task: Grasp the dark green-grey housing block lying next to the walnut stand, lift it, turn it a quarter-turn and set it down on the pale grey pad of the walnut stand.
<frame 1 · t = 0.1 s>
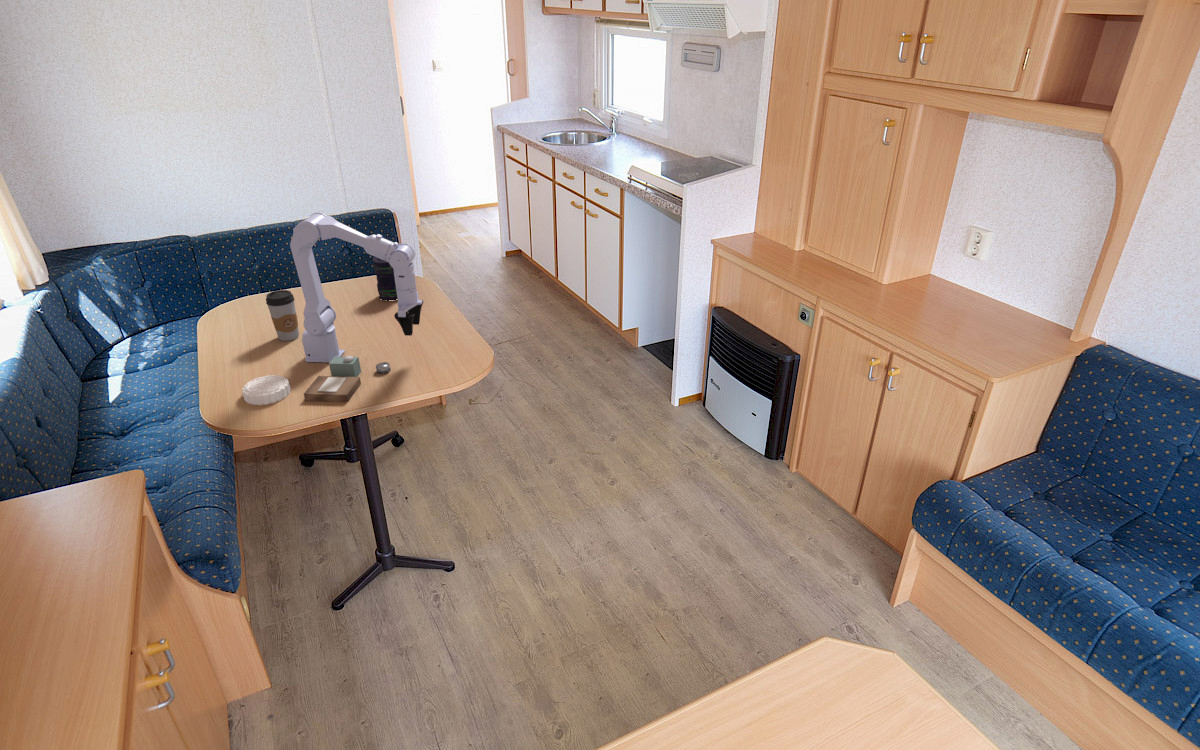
hand: (412, 329, 205), 10 cm above the table, fingers open, 7 cm apart
stand: (333, 391, 192), on the table
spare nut: (383, 371, 204), on the table
storage jar: (392, 296, 254), on the table
mooncake: (268, 395, 192), on the table
housing: (346, 375, 201), on the table
coffee cup: (289, 337, 223), on the table
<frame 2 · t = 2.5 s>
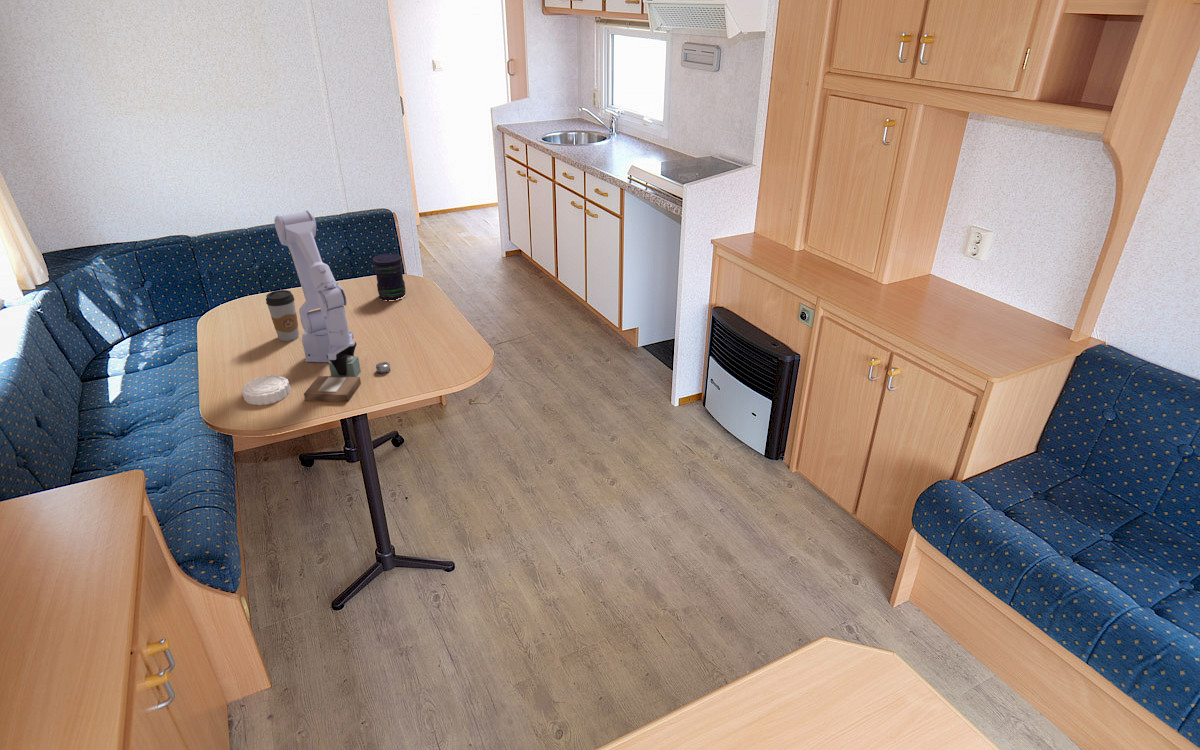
hand: (346, 370, 201), 1 cm above the table, fingers closed on housing, 4 cm apart
housing: (346, 374, 201), on the table, touching gripper
everything else where it was.
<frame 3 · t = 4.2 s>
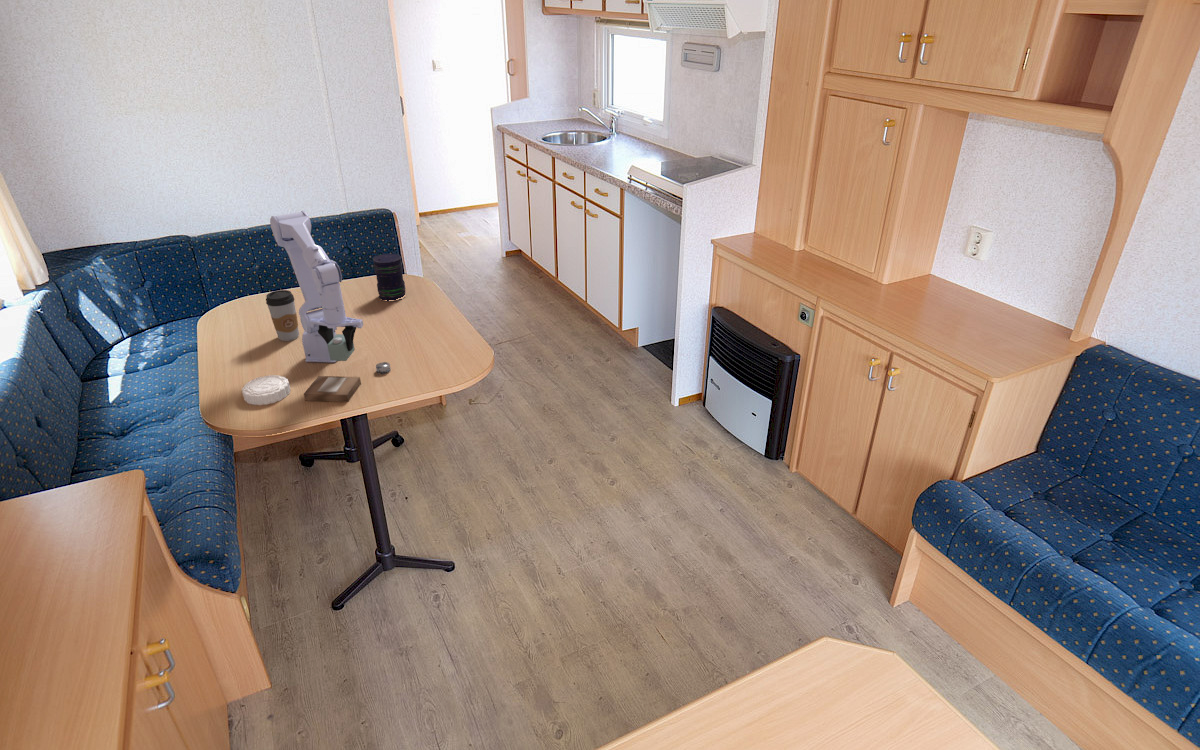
hand: (341, 349, 197), 8 cm above the table, fingers closed on housing, 4 cm apart
housing: (342, 355, 198), point 7 cm above the table, touching gripper
everything else where it was.
when the fingers open (5 cm above the table, at t = 5.8 s): housing stays where it is, resting on stand.
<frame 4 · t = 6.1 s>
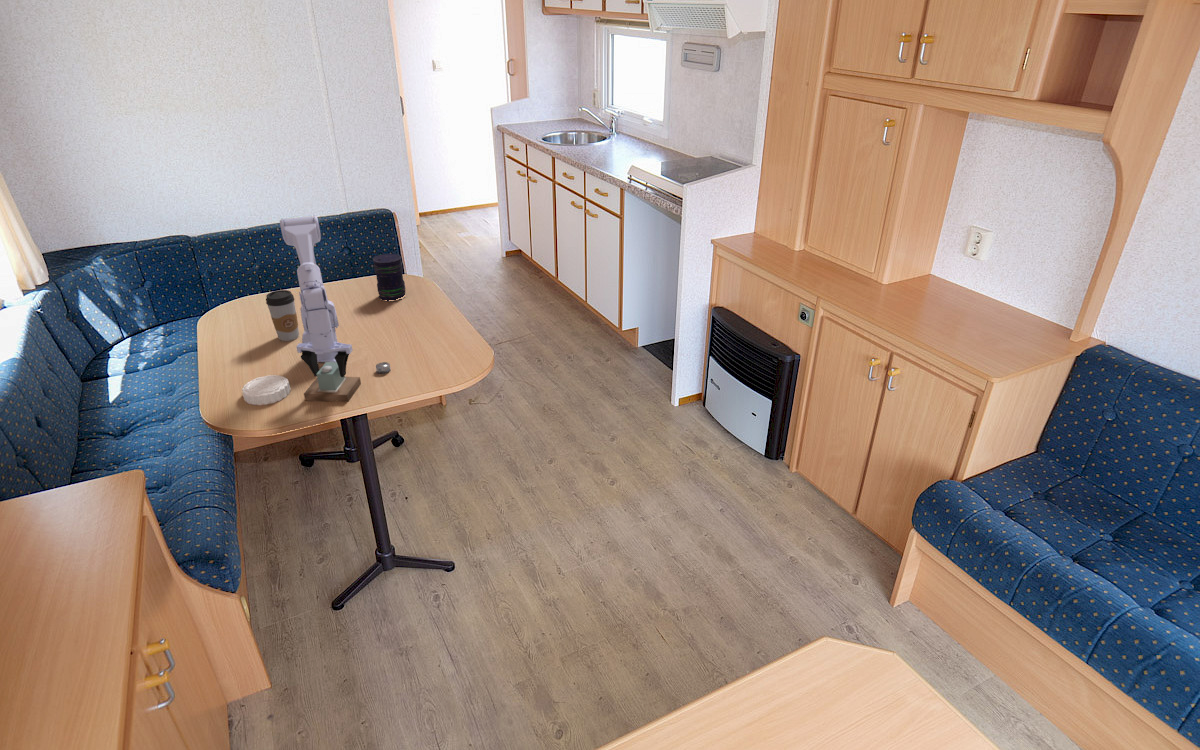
hand: (330, 375, 190), 5 cm above the table, fingers open, 7 cm apart
housing: (332, 383, 192), point 2 cm above the table, touching stand
everything else where it was.
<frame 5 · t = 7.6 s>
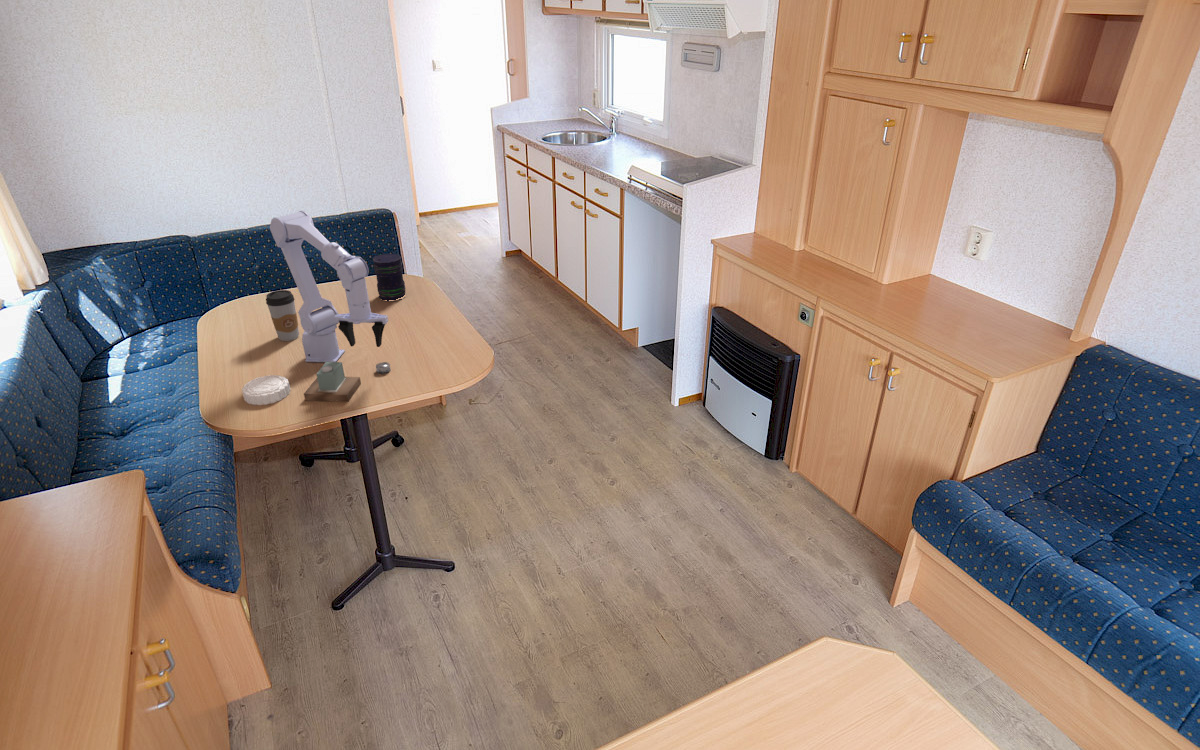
hand: (366, 345, 197), 9 cm above the table, fingers open, 7 cm apart
nothing on the table moved.
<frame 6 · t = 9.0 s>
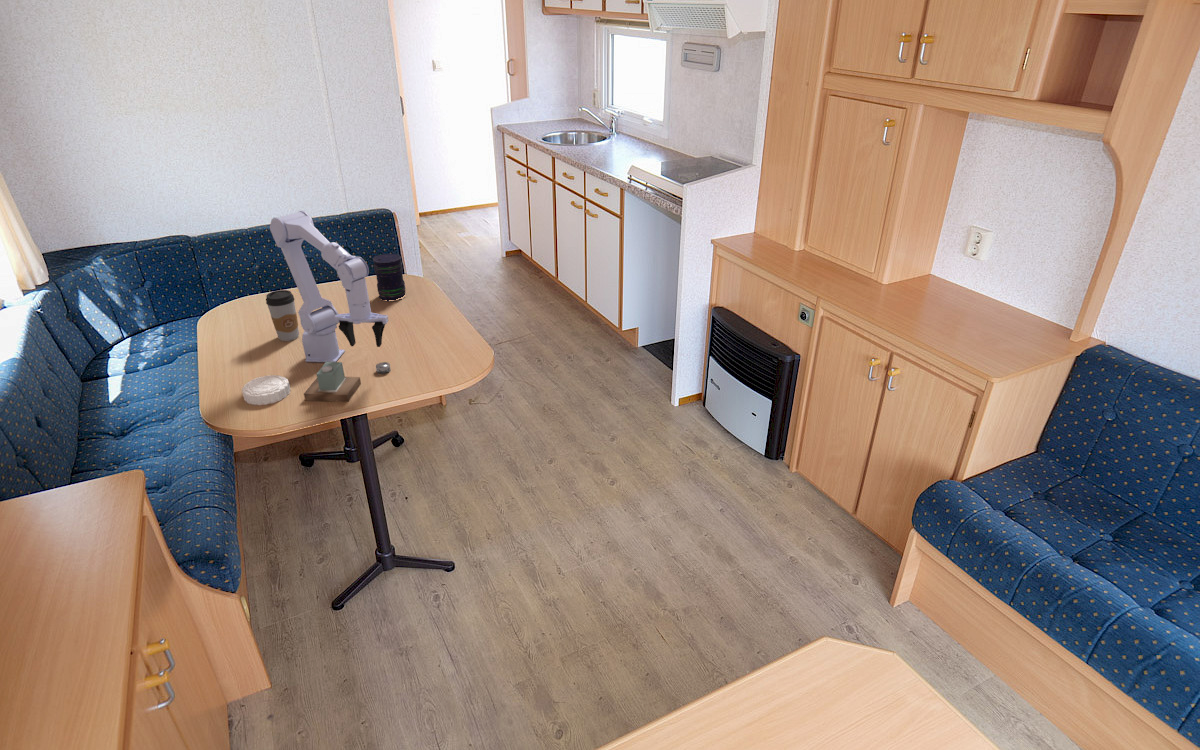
hand: (366, 345, 197), 9 cm above the table, fingers open, 7 cm apart
nothing on the table moved.
at the end: housing 0.3 cm off-centre on the stand, point 2.5 cm above the stand's base; housing tilted 0°; the gripper is holding nothing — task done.
